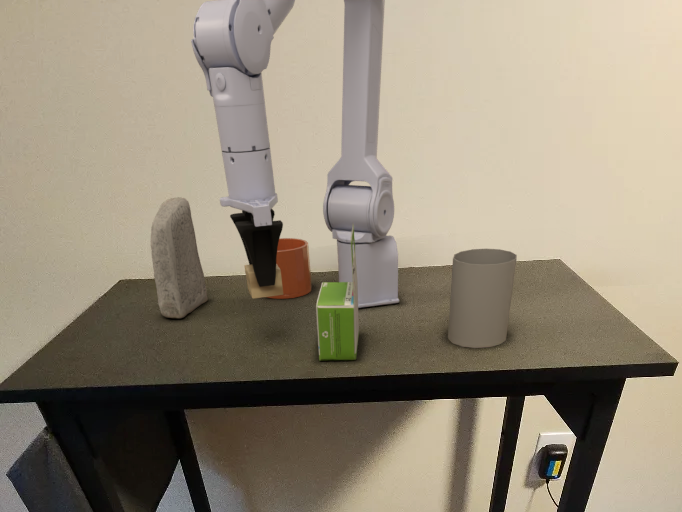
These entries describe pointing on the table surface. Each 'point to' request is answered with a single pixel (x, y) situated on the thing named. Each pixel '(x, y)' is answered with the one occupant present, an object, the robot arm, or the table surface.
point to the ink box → (338, 317)
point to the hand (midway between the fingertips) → (264, 280)
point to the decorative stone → (176, 260)
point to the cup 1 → (293, 267)
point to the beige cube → (265, 290)
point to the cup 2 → (481, 297)
